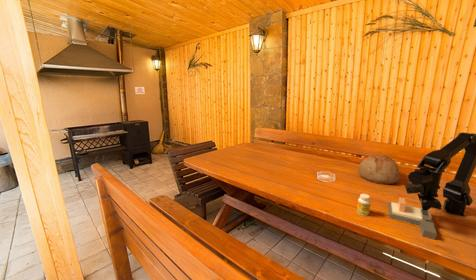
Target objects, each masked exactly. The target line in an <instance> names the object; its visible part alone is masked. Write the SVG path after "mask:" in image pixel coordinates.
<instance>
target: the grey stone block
mask: <svg viewBox="0 0 476 280" xmlns="http://www.w3.org/2000/svg"><path fill="white" fill-rule="evenodd" d="M420 209H421V210H420V215H421V218H422V219H425V220H429V221H431V218H432V219H433V216H432V215H431V212H430V211H429V210H427V211H426V210H422V208H420Z"/></svg>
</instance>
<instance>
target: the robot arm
mask: <svg viewBox="0 0 476 280" xmlns="http://www.w3.org/2000/svg"><path fill="white" fill-rule="evenodd" d="M462 150H464V153H463V157H462V158H461V161H460V163H459V166H458V168H457V170H456V173H455V175H454V178H453V179H452V180H450V181H447V182H446V183H445V185H444V187H443V188H442V198H446V199H444V201H443V205H442V203H441V201H440V200H439V199H438V197H439V195H438V191H439V190H440V189H441V185H440V184H441V179H442V175H443V173H446V170H445V169H446V168H448V167H449V165H451V163H452V162H451V161H452V158H454V157H455V156H456V155H457V154H458V153H460V152H461V151H462ZM475 169H476V133H473V132H472V133H470V132H464V131H463V132H459V133H458V134H457V136H456V137H454V139H452V140H450V141H449V142H448V143H446V144H445V145H443V146H442V148H440V149H437V150H432V151H430V152H429V153H427V154H425V155H424V156H423V158H421V160H420V162H419V163H418V164H417V166H416V168H415V169H414V171H411V172H410V173H408V175H407V176H408V177H407V179H408V181H409V182H410V183H408V182H407V183H405V184H404V187H405V191H406V194H407V195H409V194H410V195H411V194H417V197H418V199H419V200H418V201H419V202H420V204H421V209H422V210H426V211H429V210H430V209H431V208H432V209H436V210H441V209H442V207H443V210H444V211H445V212H446V213H448V214H452V215H456V216H460V217H466V215H465V210H466V207H467V206H468V207H470V206H471V204H472V203H473V202H474V200H473V198H472V196H471V195H470V193H471V188H470V185H469V182H470V180H471V178H472V176H473V174H474V171H475Z"/></svg>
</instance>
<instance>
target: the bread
mask: <svg viewBox="0 0 476 280" xmlns="http://www.w3.org/2000/svg"><path fill="white" fill-rule="evenodd" d="M358 174H359V175H360V177H362V178H363V179H364V180H366V181H369V182H371V183H375V184H379V185H392V184H396V183H397V182H398V181H399V180H400V178H401V172H400V169H399V167H398V164H397V163H396V161H395V160H394V159H393V158H391V157H390V156H387V155H379V154H372V155H370V156H368V157H366V158H365V159H363V160H361V162H360V163H359V166H358Z"/></svg>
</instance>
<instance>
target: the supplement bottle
mask: <svg viewBox="0 0 476 280" xmlns="http://www.w3.org/2000/svg"><path fill="white" fill-rule="evenodd" d="M370 197H371V196H370V195H368V194H367V193H360V195H359V198H358V199H357V205H356V206H357V207H356V212H357V214H359V215H361V216H364V217H365V216H369V214H370V210H371V202H372V201H371V200H370Z"/></svg>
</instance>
